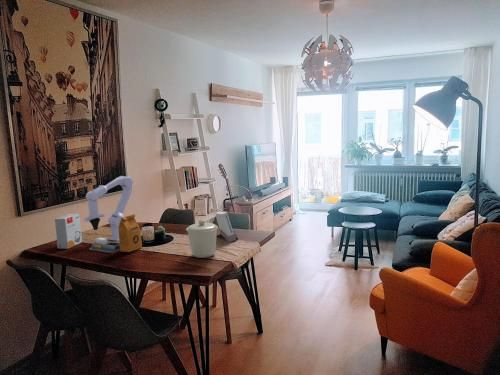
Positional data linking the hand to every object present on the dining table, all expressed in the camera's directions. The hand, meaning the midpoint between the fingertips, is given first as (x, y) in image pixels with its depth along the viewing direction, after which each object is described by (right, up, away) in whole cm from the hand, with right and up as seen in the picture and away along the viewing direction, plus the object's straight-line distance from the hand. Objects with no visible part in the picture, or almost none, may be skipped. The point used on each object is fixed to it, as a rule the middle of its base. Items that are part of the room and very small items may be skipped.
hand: (95, 229), depth 255 cm
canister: (+75, -12, -30) cm, 82 cm away
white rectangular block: (+7, -10, -7) cm, 14 cm away
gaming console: (+87, -6, +5) cm, 87 cm away
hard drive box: (-17, -11, +2) cm, 21 cm away
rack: (+12, -11, -10) cm, 19 cm away
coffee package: (+28, -11, -14) cm, 34 cm away
